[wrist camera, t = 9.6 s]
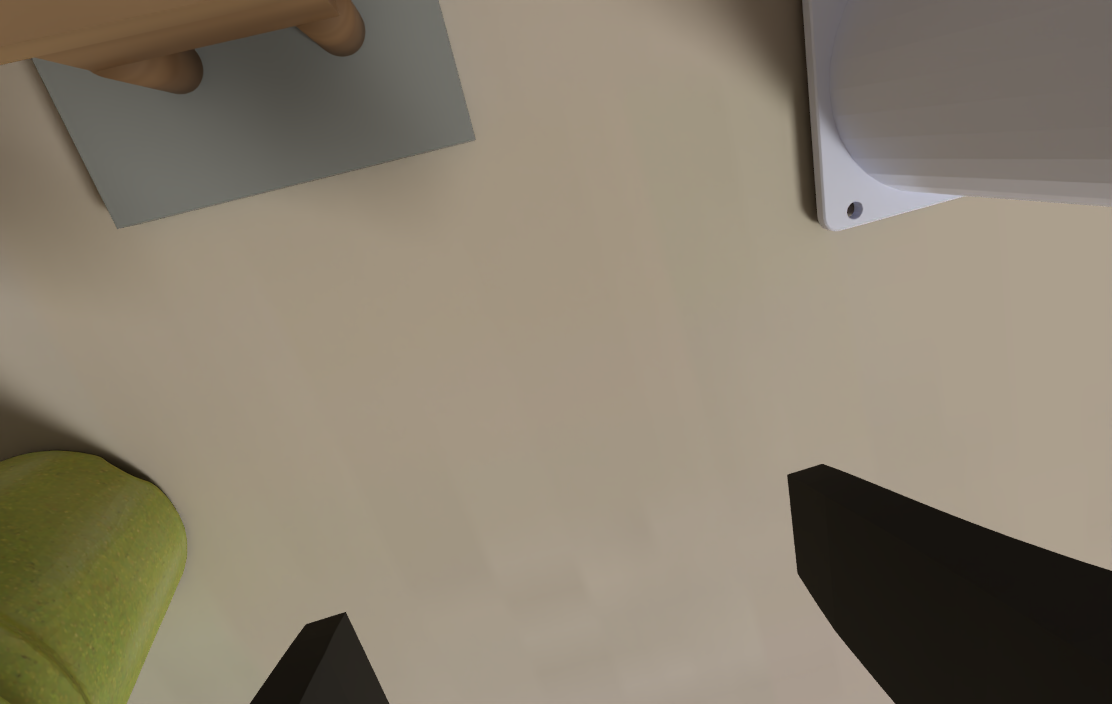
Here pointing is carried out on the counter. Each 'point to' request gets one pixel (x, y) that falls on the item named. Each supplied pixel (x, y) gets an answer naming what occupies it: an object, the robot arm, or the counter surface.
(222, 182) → the slate mat
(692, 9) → the counter surface
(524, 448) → the counter surface
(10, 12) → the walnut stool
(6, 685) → the plant pot
